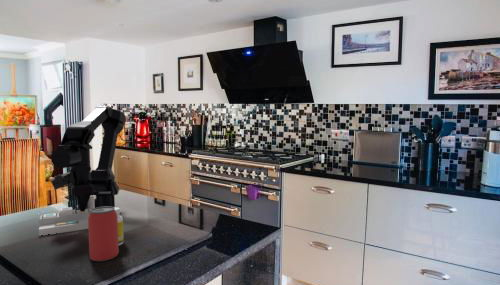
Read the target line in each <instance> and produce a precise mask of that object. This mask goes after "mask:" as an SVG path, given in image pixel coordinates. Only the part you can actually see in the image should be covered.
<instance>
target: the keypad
mask: <svg viewBox="0 0 500 285" xmlns="http://www.w3.org/2000/svg"><path fill="white" fill-rule="evenodd" d="M86 209H88V212H89V213H83V214H77V213H76V211H78V210H79V209H77V210H72V212H73V215H67V216H60V212H53V213H51V214H54V213H56V217H51V218H44V219H43V216H44V215H46V214H47V213H45V214H40V217H39V228H38V236H39V237H42V236H41V235H43V236H48V234H50V235H55V234H56V233H57V234H62V233H69V232H70V233H71V232H77V231H82V230H88V218H89V215H90V210H91V208H85V210H86Z"/></svg>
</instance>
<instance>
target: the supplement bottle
mask: <svg viewBox="0 0 500 285" xmlns="http://www.w3.org/2000/svg"><path fill="white" fill-rule="evenodd" d="M114 208H115V212H116V214H117V219H118V247H119V246H122V245H123V244H124V236H125V235H124V218H123V216H122V215H120V214H121V208H120V207H118V206H115V207H114Z"/></svg>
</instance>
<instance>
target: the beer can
mask: <svg viewBox="0 0 500 285" xmlns="http://www.w3.org/2000/svg"><path fill="white" fill-rule="evenodd" d="M90 209H91V208H90ZM87 230H88V251H89V259H90V260H91V261H94V262H107V261H109V260H113V259H114V258H116V257H118V256H119V255H118V254H119V253H120V251H119V246H118V219H117V214H116V212H115V208H114V207H110V206H105V207H97V208H94V207H93V208H92V209H91V210H90V215H89V218H88V229H87Z"/></svg>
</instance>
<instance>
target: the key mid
mask: <svg viewBox="0 0 500 285" xmlns="http://www.w3.org/2000/svg"><path fill="white" fill-rule="evenodd" d="M72 211H73V207H72V206H70V207H69V206H67V207H60V209H59V213H60V216H67V215H73V212H72Z"/></svg>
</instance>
